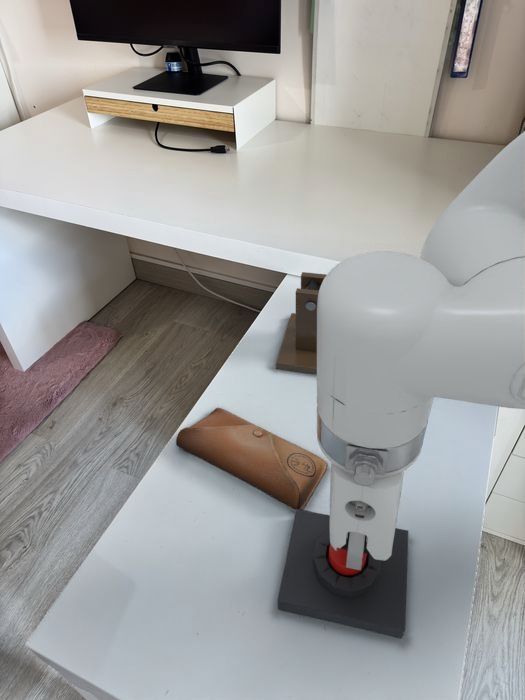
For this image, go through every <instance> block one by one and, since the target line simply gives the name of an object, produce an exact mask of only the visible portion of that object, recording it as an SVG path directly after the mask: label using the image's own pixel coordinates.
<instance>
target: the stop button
mask: <svg viewBox="0 0 525 700" xmlns="http://www.w3.org/2000/svg"><path fill="white" fill-rule="evenodd" d="M347 553H348V552H347V550H345V549H341V548H340V549H338V548H337V551H336V550H335V549H334V548H333V547H332V545H331V543H330V547H329V562H330V564H331V566H332V567H333V569H334V570H335V571H337V572H338V573H340V574H342V575H346V576H352V575H356V574H358V573H359V572H360V570H355V569H350V568H346V562H347ZM366 556H367V554H366V553H364V554H363V559H362V567H361V570H362V569H363V567H364V565H365V561H366Z"/></svg>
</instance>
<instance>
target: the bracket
mask: <svg viewBox="0 0 525 700" xmlns="http://www.w3.org/2000/svg"><path fill="white" fill-rule="evenodd" d="M327 274H328V273H326V274H325V273H317V272H316V273H314V272H306V271H302V272H301V275H300V287H298V288H296V290H295V312H291V314H290V316H289V319H288V322H287V326H286V329H285V332H284V336H283V339H282V342H281V345H280V348H279V351H278V355H277V357H276V361H275V369H277V370H283V371H290V372H297V373H298V372H299V373H304V374H305V373H306V374H313V375H317V302H318V293H319V290H309V289H304V288H305V287H306V285H307V284H308V283H309V281H310V280H311V279H312V280H314V281H316V282H317V283H319V284H322V282H323V280H324V278H325V277H326V275H327Z"/></svg>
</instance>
